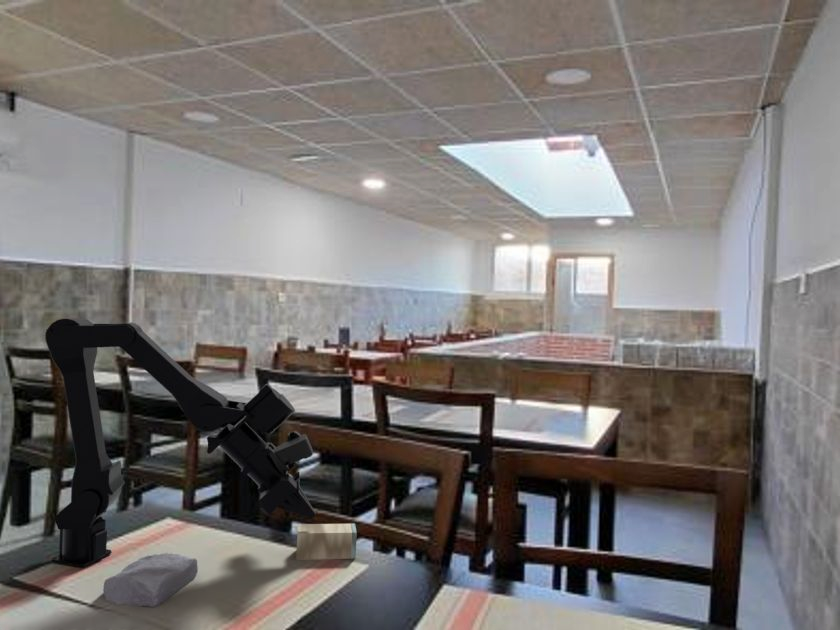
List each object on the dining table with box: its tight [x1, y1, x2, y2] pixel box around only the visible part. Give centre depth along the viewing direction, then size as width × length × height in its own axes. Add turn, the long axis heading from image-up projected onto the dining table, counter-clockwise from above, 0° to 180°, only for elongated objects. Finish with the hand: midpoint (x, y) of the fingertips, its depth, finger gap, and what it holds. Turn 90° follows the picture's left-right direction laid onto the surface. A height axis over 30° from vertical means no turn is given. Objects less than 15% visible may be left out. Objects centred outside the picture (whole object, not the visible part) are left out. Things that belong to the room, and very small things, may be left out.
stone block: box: [103, 552, 199, 608], centre depth 97 cm, size 12×5×10 cm
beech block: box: [296, 523, 358, 561], centre depth 112 cm, size 4×4×10 cm
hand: (313, 516), depth 112 cm, fingers closed
